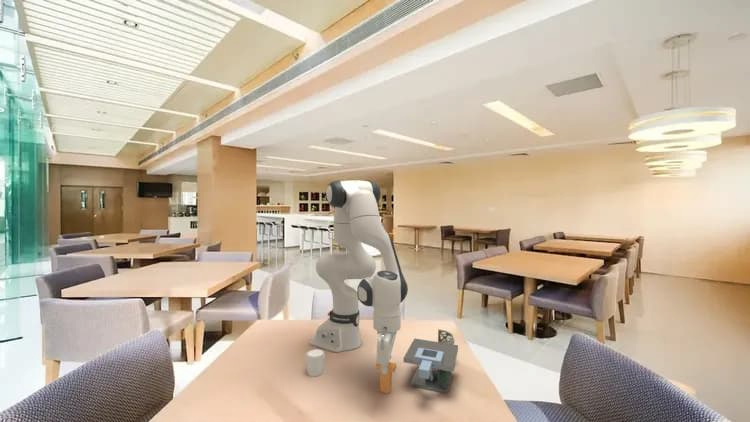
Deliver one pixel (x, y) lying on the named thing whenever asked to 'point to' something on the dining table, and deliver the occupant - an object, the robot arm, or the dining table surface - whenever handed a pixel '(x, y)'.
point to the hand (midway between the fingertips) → (386, 365)
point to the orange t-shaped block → (386, 377)
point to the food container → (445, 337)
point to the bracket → (427, 361)
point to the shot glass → (315, 362)
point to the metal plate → (437, 378)
